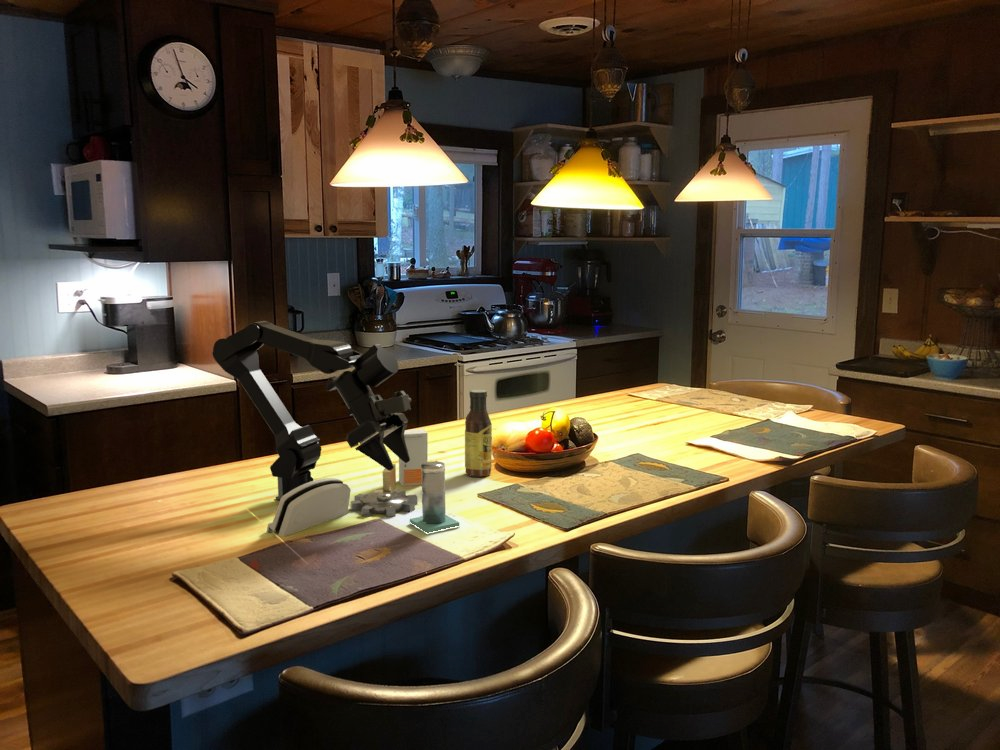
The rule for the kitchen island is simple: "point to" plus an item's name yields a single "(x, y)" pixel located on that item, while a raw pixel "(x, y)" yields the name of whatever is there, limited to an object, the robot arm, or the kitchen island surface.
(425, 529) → the pad
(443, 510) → the roller
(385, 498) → the sprocket
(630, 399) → the kitchen island surface
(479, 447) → the sauce bottle
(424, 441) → the skincare box
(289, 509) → the white rounded block
